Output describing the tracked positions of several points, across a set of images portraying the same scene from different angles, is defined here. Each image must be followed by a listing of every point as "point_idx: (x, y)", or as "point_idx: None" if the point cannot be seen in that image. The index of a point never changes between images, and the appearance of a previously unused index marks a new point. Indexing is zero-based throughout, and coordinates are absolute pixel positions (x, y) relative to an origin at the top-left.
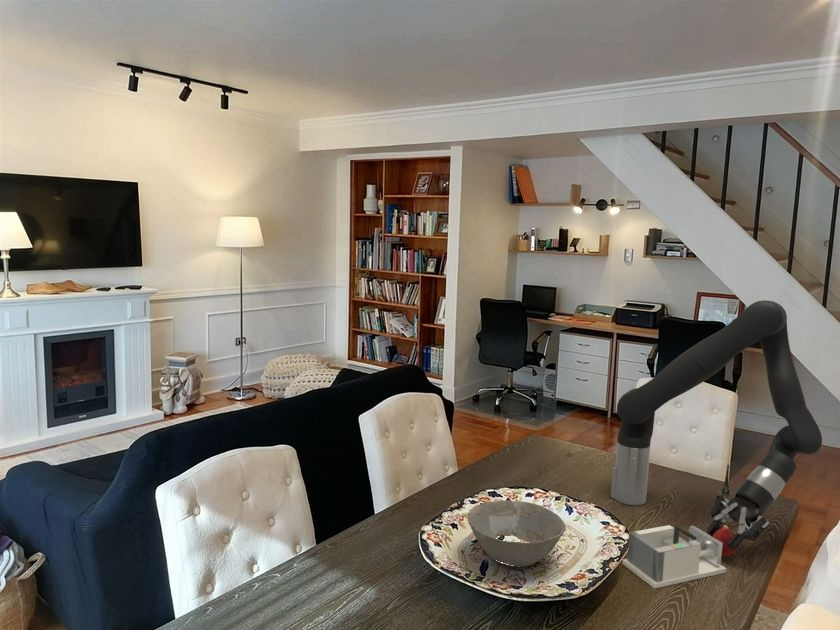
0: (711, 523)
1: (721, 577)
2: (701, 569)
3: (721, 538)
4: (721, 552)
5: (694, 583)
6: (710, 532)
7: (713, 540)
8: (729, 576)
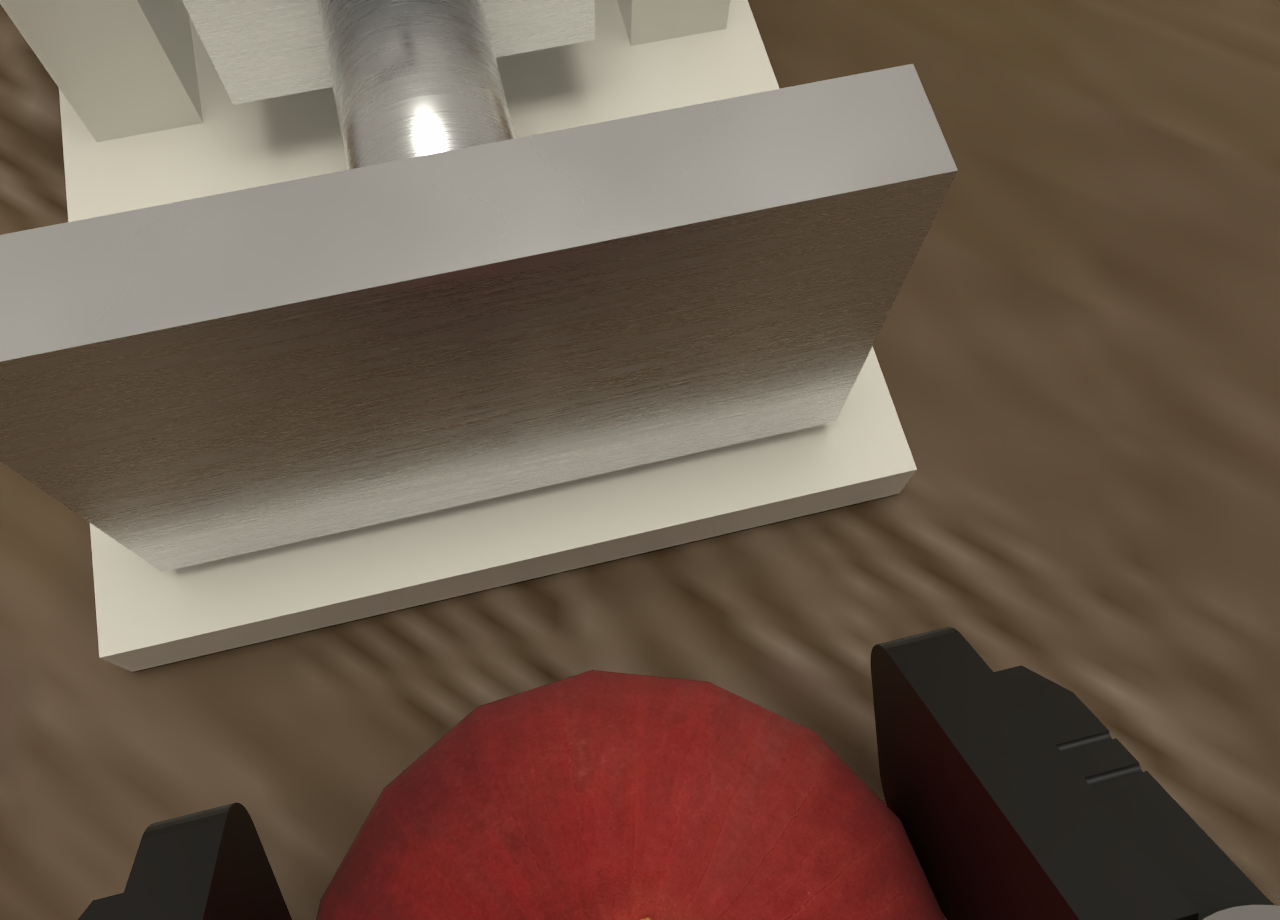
0: (1195, 830)
1: (29, 508)
2: None
3: (466, 756)
4: (34, 475)
5: (9, 71)
6: (895, 697)
7: (86, 221)
8: (16, 659)
